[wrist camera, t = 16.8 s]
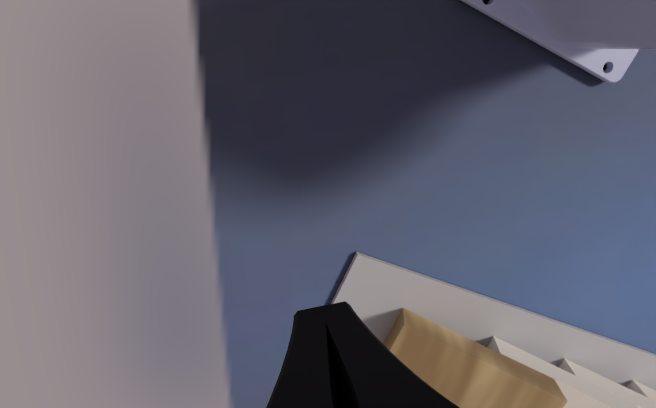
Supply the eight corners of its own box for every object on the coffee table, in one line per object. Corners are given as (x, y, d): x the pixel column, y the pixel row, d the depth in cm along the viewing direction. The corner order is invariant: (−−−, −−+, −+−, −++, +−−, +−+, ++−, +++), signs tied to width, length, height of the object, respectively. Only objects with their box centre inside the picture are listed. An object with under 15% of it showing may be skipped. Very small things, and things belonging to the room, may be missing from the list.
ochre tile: (364, 395, 23) (517, 469, 22) (404, 324, 21) (567, 401, 21) (365, 374, 24) (508, 443, 24) (403, 307, 23) (553, 378, 23)
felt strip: (290, 384, 24) (291, 388, 24) (356, 251, 22) (357, 254, 21) (672, 474, 33) (676, 478, 32) (749, 386, 30) (754, 389, 30)
